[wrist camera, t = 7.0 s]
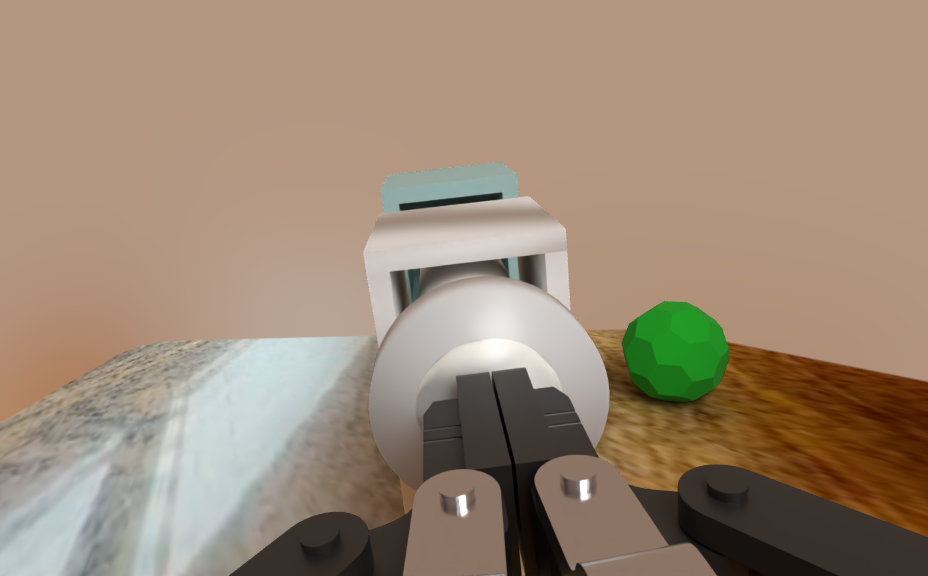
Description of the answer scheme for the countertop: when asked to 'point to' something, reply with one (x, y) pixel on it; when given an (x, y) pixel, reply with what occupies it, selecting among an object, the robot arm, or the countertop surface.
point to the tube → (476, 354)
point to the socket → (449, 198)
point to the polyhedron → (675, 352)
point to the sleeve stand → (462, 254)
